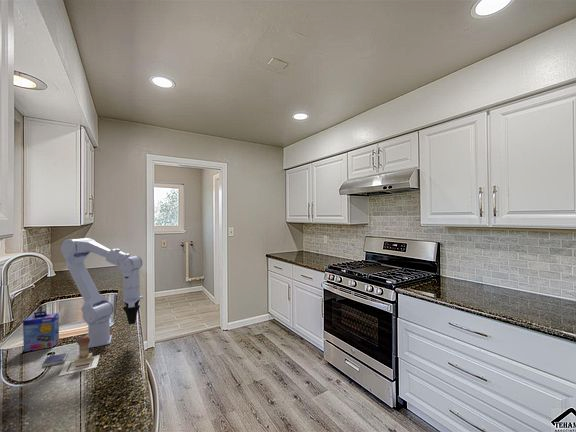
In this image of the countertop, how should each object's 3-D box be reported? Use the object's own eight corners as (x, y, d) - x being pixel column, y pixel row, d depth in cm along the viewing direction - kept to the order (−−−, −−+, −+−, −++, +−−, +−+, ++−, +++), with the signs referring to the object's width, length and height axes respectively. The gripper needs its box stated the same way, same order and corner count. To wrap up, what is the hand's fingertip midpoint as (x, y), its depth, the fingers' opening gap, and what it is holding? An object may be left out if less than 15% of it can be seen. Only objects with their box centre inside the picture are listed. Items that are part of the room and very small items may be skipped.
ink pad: (47, 359, 100) (47, 356, 100) (67, 355, 103) (67, 352, 103) (41, 367, 95) (41, 364, 95) (64, 362, 98) (64, 359, 98)
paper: (65, 362, 98) (65, 361, 98) (100, 355, 103) (99, 354, 103) (58, 376, 89) (58, 375, 89) (96, 367, 94) (96, 367, 94)
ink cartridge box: (22, 352, 107) (21, 314, 107) (29, 346, 112) (28, 310, 112) (54, 347, 111) (54, 310, 111) (59, 341, 116) (59, 306, 116)
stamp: (78, 362, 98) (78, 335, 98) (92, 359, 99) (91, 333, 100) (75, 367, 94) (75, 339, 94) (89, 364, 96) (89, 337, 96)
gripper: (143, 289, 107) (143, 324, 107) (142, 282, 120) (143, 313, 120) (121, 291, 104) (122, 328, 104) (123, 284, 116) (124, 316, 116)
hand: (132, 320), depth 111 cm, fingers open, 7 cm apart
